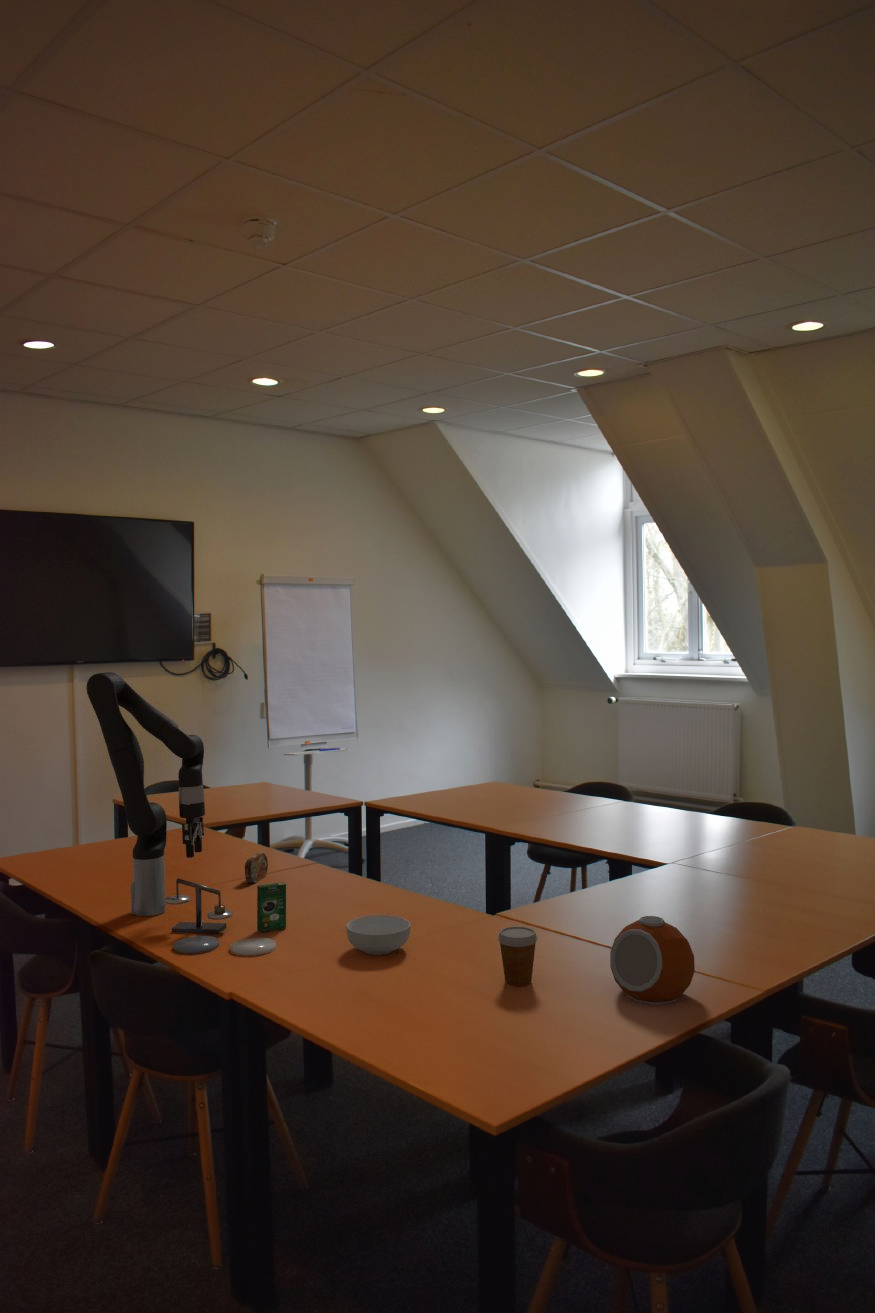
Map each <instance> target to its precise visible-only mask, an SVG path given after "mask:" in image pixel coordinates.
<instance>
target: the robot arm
mask: <svg viewBox="0 0 875 1313" xmlns="http://www.w3.org/2000/svg"><path fill="white" fill-rule="evenodd" d="M86 694H87V697H88V699H89V702H90V704H91V706H92V708H93V711H94V713H95V715H96V717H97V720H98V723H99V726H100V729H101V733H102V736H103V739H104V742H105V746H106V750H107V752H108V756H109V758H110V759H109V760H110V763H111V765H112V768H113V771H114V774H115V778H116V781H117V783H118V787H119V790H120V791H119V792H120V793H121V797H122V802H123V807H124V812H125V817H126V822H127V825H128V827H129V829H130V831H131V832H132V833H133V834H134V835H135V836H137V837H136V838H137V839H136V842H135V844H134V846H133V848H132V875H133V878H132V882H131V883H130V906H131V907H130V909H131V910H130V912H131V914H130V915H135V916H137V917H153V916H158V915H161V914H163V913H165V912H166V911H167V910H166V909H167V908H166V905H167V903H165V898H166V877H165V876H166V874H165V873H166V872H165V871H166V870H165V849H166V845H167V832H168V830H167V828H168V824H167V822H168V821H167V813H166V811H165V809H164V806H162V805H161V804H160V803H158V802H151V801H150V802H149V799H148V796H147V793H146V788H145V761H144V756H143V752H142V749H141V746H140V743H139V740H138V738H137V735H136V734H135V733H134V731H133V730H132V728H131V727H130V725H129V724H128V722H127V721H126V719H125V718H124V716H123V714H122V711H121V709H120V707H121V708H122V709H123V710H126V712H128V713H130V715H131V716H132V717H133V718H134V719H135V720H136V721H137V723H138V724H139V725H140V726H141V727H142V728H143V729H144V730H145V731H146V732H148V733H149V734H150V735H152V737H153V738H156V739H157V740H158V741H160V742H162V743H163V745H164V746H166V748H167V749H168V750H169V751H171V752H172V754H174V755H175V756H176V757H178V758H180V759H181V767H179V770H178V774H177V775H178V806H179V807H178V812H179V818H180V819H185V823H182V825H181V832H182V833H181V835H182V838H181V839H182V845H184V846H185V854H186V855H185V856H186V858H187V859H189V858H190V859H191V858H192V859H193V858H194V857H195V853H201V852H203V839H204V836H205V830H204V828H205V827H204V817H205V816H206V807H205V806H206V804H205V790H204V784H203V782H204V781H203V764H204V757H205V756H204V754H205V746H204V741H203V740H202V738H201V737H200V736H198V735H197V734H187V733H185V732H184V731H183V730H181V729H180V727H179V725H178V724H177V722H175V721H174V720H173V719H171V717H168V716H167V715H166V714H165V713H163V712H161V711H160V710H159V709H157V708H156V707H154V706H153V705H152V704H151V703H149V702H148V701H147V700H146V699H145V698H144V697H142V696H141V694H139V693H138V692H137V691H136V690H135V689H133V687H132V686H131V685H130V684H129V683H128V682H127V681H126V680H125V679H124V678H122V676H120V675H119V674H118V673H116V672H112V671H108V672H98V673H94V674H92V675H91V676H90V677H89V678H88V679H87V681H86Z"/></svg>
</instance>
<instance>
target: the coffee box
mask: <svg viewBox="0 0 875 1313" xmlns="http://www.w3.org/2000/svg"><path fill="white" fill-rule="evenodd" d="M256 890H257V892H256V894H257V896H256V898H257V899H256V901H257V902H256V904H257V906H256V907H257V908H256V913H257V915H256V919H257V921H256V925H257V927H256V929H257V930H256V931H257V932H258V933H260V934H263V933H268V932H272V931H280V930H285V929H287V884H286V883H284V882H276V883H269V884H268V883H267V884H260V885H259V884H258V885H257V889H256Z"/></svg>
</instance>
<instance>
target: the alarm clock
mask: <svg viewBox="0 0 875 1313" xmlns="http://www.w3.org/2000/svg"><path fill="white" fill-rule="evenodd" d="M609 954H610V955H609V956H610V958H609V959H610V960H609V961H610V962H609V964H610V970H611V972H612V976H613V979H614V981H615V983H616V984H617V985H618V987H619V988H620V989H621V990H622V991H623V993H624V994H625V996H626V997H628V998H630V999H632V1000H634V1001H636V1002H638V1003H644V1004H650V1005H661V1004H662V1005H663V1004H670V1003H673V1002H676V1001H678V1000H679V999H680V997H681V996H683V994H684V993H685V992H686V991H687V989H688V988H689V987H690V986H691V983H692V980H693V977H694V974H695V970H696V969H695V954H694V952H693V950H692V946H691V944H690V942H689V941H688V939H687V938H686V937H685V935H684V934H683V933H682V932H681V931H680V930H679V929H678V928H677V927H676V926H673V925H672V924H670V923H668V922H666V921H665V920H664V919H663V917H659V916H656V915H655V916H654V915H645V916H641V917H640V918H639V919H638V920H635V921H634V922H632V923H630V924H627V925H626V926H624V927H623V928H622V929H621V930H620V932H619V933H618V934H617V935H616V937H615V938H614V941H613V943H612V947H611V949H610V951H609Z"/></svg>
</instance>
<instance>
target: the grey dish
mask: <svg viewBox="0 0 875 1313" xmlns="http://www.w3.org/2000/svg"><path fill="white" fill-rule="evenodd" d="M219 946H220V940H219V938H217V937H215V936H210V935H195V936H194V935H193V936H189V937H184V938H181V939H179V940H177V941H175V942H174V943H173V951H174V952H175V953H177V954H182V955H198V954H204V953H208V952H211V951H214V950H216V949H217V948H219Z"/></svg>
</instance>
